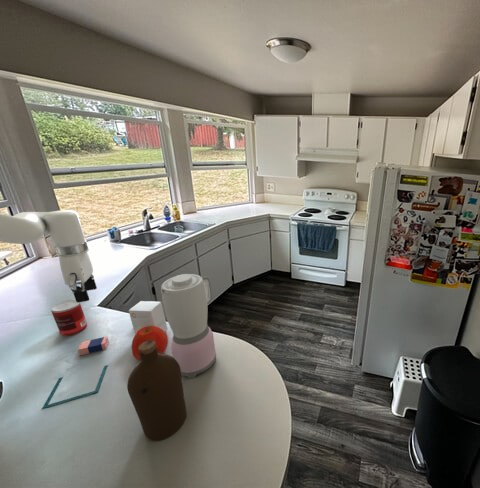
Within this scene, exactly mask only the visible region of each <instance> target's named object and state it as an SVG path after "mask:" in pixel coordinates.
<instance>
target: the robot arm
mask: <svg viewBox="0 0 480 488" xmlns="http://www.w3.org/2000/svg"><path fill="white" fill-rule="evenodd" d="M45 234H49V236H50V239H51V242H52V245H53V248H54V250H55V253H56V256H57V257H58V260H59V267H60V271H61V274H62V278H63V282H64V284H65V286H68V288H69V289H70V290H71V292H72V294H73V296H74V300H76V302H77V303H78V302H80V303H84V302H89V301H90V296H89V294H88V292H89V291H94V290H97V288H98V286H97V284H96V281H95V276H94V274H93V273H94V269H93V264H92V261H91V259H90V256H89V253H88V252H89V246H88V243H87V240H86V236H85V232H84V230H83V226H82V223H81V220H80V217H79V214H78V212H76V211H74V210H69V209H62V210H61V209H60V210H54V211H23V212H19V213H16V214H14V215H10V214H6V213H2V212H1V213H0V242H2V243H7V244H8V243H9V244H17V245H28V244H32V243H35V242H37V241H39V240H40V239H42V238H43V236H44V235H45ZM79 285H80V286H79Z"/></svg>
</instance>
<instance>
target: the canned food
mask: <svg viewBox="0 0 480 488" xmlns="http://www.w3.org/2000/svg"><path fill="white" fill-rule="evenodd" d="M50 312H51V314H52V317H53V320H54V322H55V324H56V326H57V329H58V331H59V333H60V335H62V336H65V337H66V336H73V335H76V334H78V333H80V332H82V331H84V330H85V329H86V328H87V326H88V322H87V319H86V316H85V314H84V310H83V306H82V304H81V302H78V303H77V302H76V299H67V300H63V301H61V302H58V303H56V304H54V305H52V306H51V308H50Z"/></svg>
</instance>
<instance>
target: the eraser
mask: <svg viewBox="0 0 480 488" xmlns="http://www.w3.org/2000/svg"><path fill="white" fill-rule="evenodd" d="M109 343H110V340H109V337H108V336H102V337H98V338H94V339H91V340H86V341H82V342H81V343H80V345H79V347H78V349H77V351H78V354H79V356H84V355H88V354H92V353H97V352H101V351H105V350H107V348H108V346H109Z"/></svg>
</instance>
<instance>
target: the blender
mask: <svg viewBox="0 0 480 488" xmlns="http://www.w3.org/2000/svg"><path fill="white" fill-rule="evenodd" d="M160 293H161V299H162V306H163V311H164V315H165V319H166V321H167V322H168V325H169V327H170V329H171V331H172V334H173V335H172V338H171V342H170V351H171V355H172V357H173V358H174V359H175V360H176V361H177V362H178V364H179V366H180V369H181V376H185V377H187V379H194V378H196V375H198V374H201V373H203V372H205V371H206V370H208V369H209V368H211V367H212V366H213V364H214V363H215V361H217V353H216V346H215V345H216V344H215V337H214V333H213V330H212V329H211V327H210V326H209V325H208V314H209V312H208V309H209V308H208V306H209V305H208V304H209V303H210V302H211V300H212V287H211V281H210V278H209V277H208V276H205V275H203V276H201V275H198V274H195V273H181V274H177V275H175V276H172V277H170V278H168V279H166V280H165V281H164V282H163V283H162V284H161V286H160Z"/></svg>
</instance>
